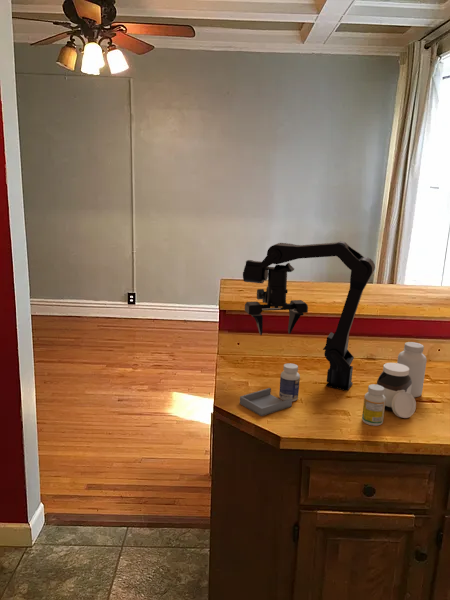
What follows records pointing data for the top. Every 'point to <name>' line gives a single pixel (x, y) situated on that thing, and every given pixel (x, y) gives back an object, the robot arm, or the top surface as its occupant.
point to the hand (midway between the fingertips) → (275, 334)
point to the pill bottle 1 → (289, 382)
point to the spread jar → (397, 389)
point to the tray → (264, 402)
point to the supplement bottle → (374, 405)
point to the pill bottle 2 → (414, 365)
